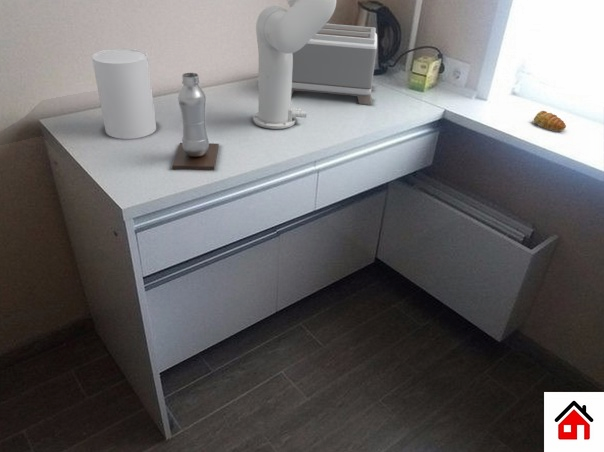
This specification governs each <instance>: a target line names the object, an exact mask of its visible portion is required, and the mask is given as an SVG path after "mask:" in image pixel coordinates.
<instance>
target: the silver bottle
mask: <svg viewBox="0 0 604 452" xmlns="http://www.w3.org/2000/svg"><path fill="white" fill-rule="evenodd" d="M181 79H182V81H181V83H182V87H181V89H180V90H179V92H178V95H177V102H178V105H179V110H180V114H181V122H182V141H181V143H182V147H183V150H184V152H185V153H186V154H187V155H189V156H193V157H197V156H202V155H204V154H206V153H207V151H208V149H209V143H210V141H209V137H208V135H207V128H206V103H207V101H206V99H207V97H206V94H205V92H204V90H203V88H202V87H201V86H200V85H199V84H200V80H199V74H198V73H196V72H185V73H183V74H182V76H181Z"/></svg>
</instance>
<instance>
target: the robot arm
mask: <svg viewBox="0 0 604 452" xmlns="http://www.w3.org/2000/svg"><path fill="white" fill-rule="evenodd" d="M287 3H288V5H289V7H290V8H289V9H285V8H284V7H281V6H277V5H270V6H268V7H265V8H264V9H263V10H262V11H261V12H260V13H259V14H258V16H257V20H256V23H255V24H256V26H255V31H256V32H255V33H256V41H257V52H258V112H256V113H255V114H254V115H253V117H252V121H253V123H254V124H255V125H256V126H258V127H260V128H265V129H269V130H283V129H286V128H291V127H293V126H294V125H295V124H296V123H297V122H296V121H297V120H296V119H297V118H301V119H302V118H303V119H306V118H307V110H303V109H302V108H294V107H293V104H292V95H291V93H292V70H293V54H292V53H294V52H297V51H298V50H300V49H301V48H302V47H303V46H304V45H306V43H307V42H308V41H309V40H310V39H311V38H312V37H313V36H314V35H315V34H316V33H317V32H318V31H319V30H320V29H321V28H322V27H323V26H324V25H325V24H328V22H329V21H330V19H331V18H332V16H333V15H334V13H335V10H336V7H337V0H287ZM292 94H293V93H292Z"/></svg>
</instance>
